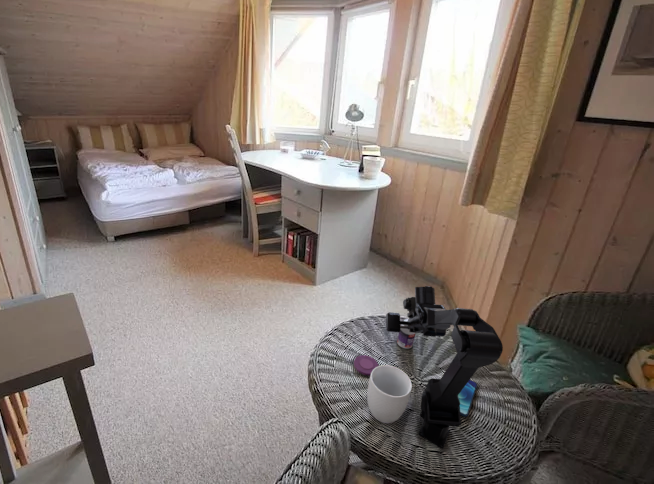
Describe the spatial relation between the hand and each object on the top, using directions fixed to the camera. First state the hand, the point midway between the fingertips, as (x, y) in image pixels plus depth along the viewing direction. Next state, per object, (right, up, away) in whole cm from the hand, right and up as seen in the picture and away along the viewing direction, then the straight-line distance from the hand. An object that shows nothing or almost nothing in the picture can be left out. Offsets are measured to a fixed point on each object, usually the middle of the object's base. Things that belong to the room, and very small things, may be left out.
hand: (407, 326), depth 125 cm
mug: (-15, -18, -23) cm, 33 cm away
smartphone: (+9, -16, -17) cm, 25 cm away
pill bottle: (0, -7, +2) cm, 7 cm away
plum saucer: (-17, -11, -8) cm, 22 cm away
